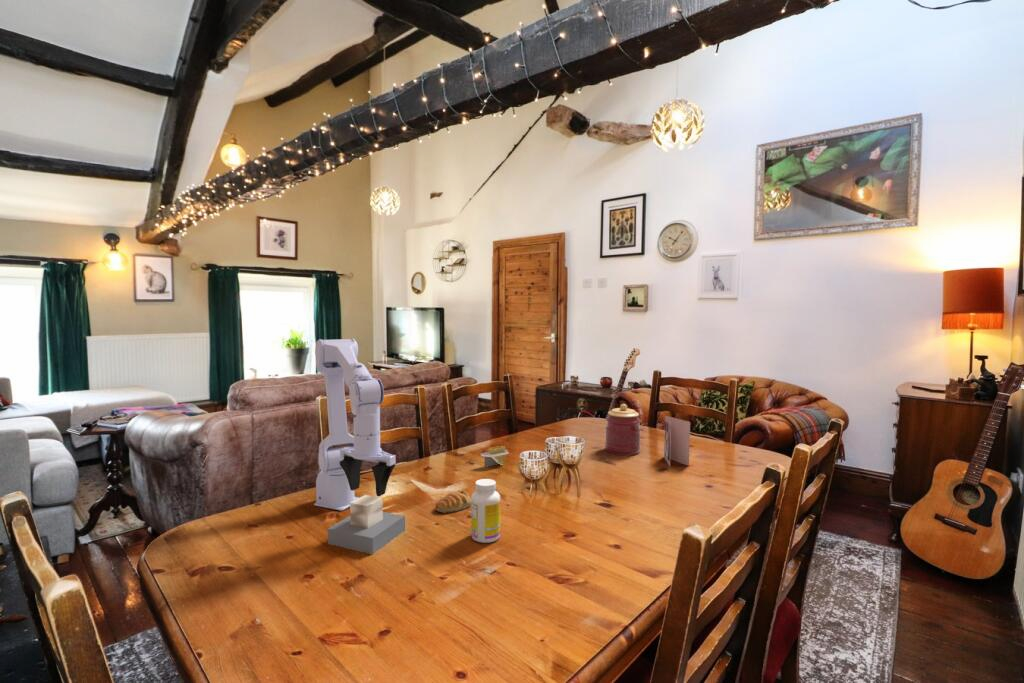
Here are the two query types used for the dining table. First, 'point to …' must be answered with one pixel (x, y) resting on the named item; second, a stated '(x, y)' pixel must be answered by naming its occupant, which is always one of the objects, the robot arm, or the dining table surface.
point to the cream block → (366, 511)
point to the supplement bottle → (485, 512)
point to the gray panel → (366, 533)
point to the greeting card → (676, 440)
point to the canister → (623, 431)
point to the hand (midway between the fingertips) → (367, 491)
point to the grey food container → (494, 456)
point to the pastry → (454, 502)
